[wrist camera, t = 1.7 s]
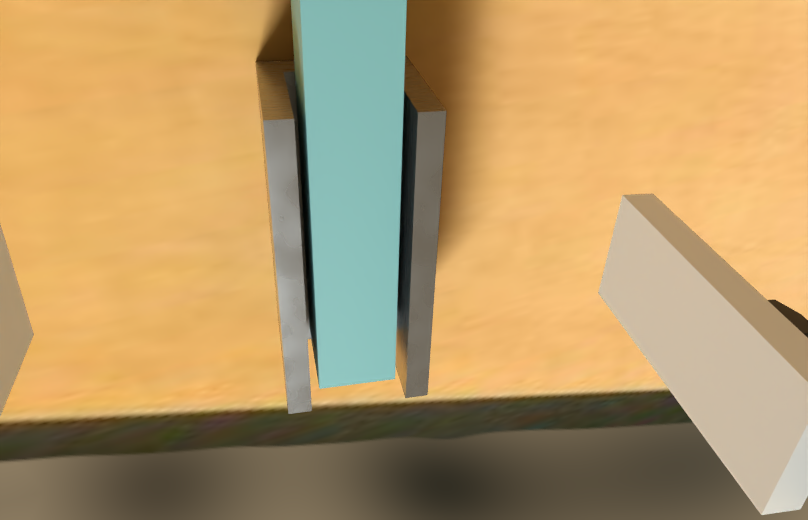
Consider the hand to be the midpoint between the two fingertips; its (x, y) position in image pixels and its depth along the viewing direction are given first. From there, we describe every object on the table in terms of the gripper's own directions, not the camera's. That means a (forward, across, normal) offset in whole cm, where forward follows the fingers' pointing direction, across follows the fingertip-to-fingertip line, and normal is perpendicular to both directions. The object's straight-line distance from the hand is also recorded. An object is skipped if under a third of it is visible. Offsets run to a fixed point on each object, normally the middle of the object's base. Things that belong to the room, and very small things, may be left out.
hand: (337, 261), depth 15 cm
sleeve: (+21, +2, -10) cm, 23 cm away
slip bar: (+19, +2, -4) cm, 19 cm away
